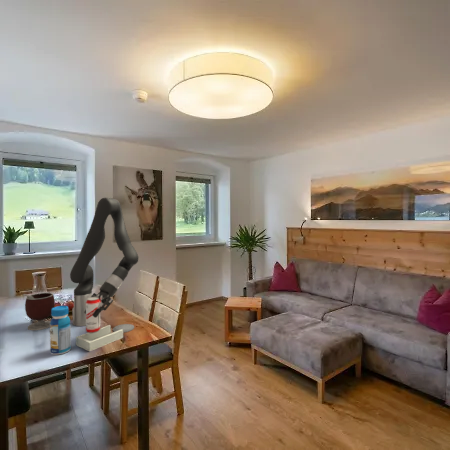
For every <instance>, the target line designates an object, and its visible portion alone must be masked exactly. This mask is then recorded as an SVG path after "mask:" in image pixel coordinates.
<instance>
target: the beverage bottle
mask: <svg viewBox="0 0 450 450" xmlns="http://www.w3.org/2000/svg"><path fill="white" fill-rule="evenodd" d="M51 317H52V318H51V320H49V321H50V326H51V327H49V341H50V343H49V344H50V354H51V355H54V356H55V355H56V356H58V355H63V354H66V353H68V352H69V351H71V349H72V345H71V343H72V342H71V341H72V340H71V339H72V337H71V336H72V333H71V332H72V331H71V330H72V326H71V318H70V317H69V306H67V305H57V306H54V308H52V310H51Z"/></svg>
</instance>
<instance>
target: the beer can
mask: <svg viewBox="0 0 450 450" xmlns="http://www.w3.org/2000/svg"><path fill="white" fill-rule="evenodd" d="M99 302H100V300H99V297H90V298H88V299H87V301H86V326H85V331H86V333H96V332H98V331H99V330H100V328H101V313H100V314H99V315H98V316H97V317H96V318H95V317H93V316H92V315H93V313H94V312H95V311H96V309H98V306H99Z"/></svg>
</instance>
